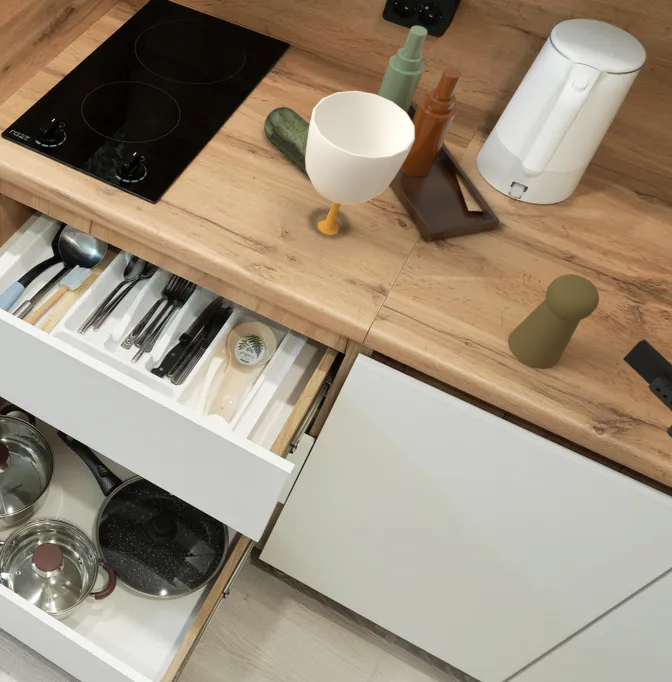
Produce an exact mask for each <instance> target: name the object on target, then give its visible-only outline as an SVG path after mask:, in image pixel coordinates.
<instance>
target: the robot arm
mask: <svg viewBox="0 0 672 682" xmlns="http://www.w3.org/2000/svg"><path fill="white" fill-rule="evenodd" d="M622 360H623V361H624V362H625V363H626V364H627V365H628V366H629V367H630V368H631V369H633V371H634V372H636V373H637V375H639V376H640V377H641V378H642V379H643V380H644V381H645V382H646V383H647V384H648V386H647V387H648V389H649V391H650V392H651V393H652V394H653V395H654V396H655V397H656V398H657V399H658V400H659V401H660V402H661V403H662V404H663V405H665V407H667V408H668V410H670V412H672V363H671V362H670V361H668V359H666V358H665V357H664V356H663V355H662V354H661V352H659V351H658V350H657V349H656V348H654V347H653V346H652V344H650V343H649V342H648V341H647V340H646V339H645V338H643V339H642V340H640V341H638V342H637V343H636V344H635V345H634V346H633V348H631V350H629V352H628V353H627V354H626V355H625V356H624V357H623V358H622ZM666 433H667V435H668V436H669V437H670V438H672V424H671V425H670V426H669V427H668V428H667V429H666Z"/></svg>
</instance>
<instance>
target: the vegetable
mask: <svg viewBox="0 0 672 682" xmlns="http://www.w3.org/2000/svg"><path fill="white" fill-rule="evenodd" d="M263 125H264V126H263V128H264V129H263V131H264V134H265V136H266V138H267V139H268V140H269V142H270V143H272V144H273V145H274V146H275V147H276V148H277V149H278V150H280V151H281V152H282V153H283V154H285V155H286V156H287V157H288V158H289V159H290V160H291V161H292V162H293V163H294V164H296V165H297V166H298V167H299V168H300V169H301V170H302V171H303V172H304V173H305V174H306V175H307V176H308V173H307V171H306V163H305V156H306V147H307V139H308V131H309V125H310V122H308V121H307V120H305V119H304V118H303V117H302V116H301V115H300V114H299V113H297V112H296V111H295V110H294V109H292V108H290V107H287V106H279V107H276V108H274V109H273V110H271V111H270V112H269V113H268V115H267V116H266V118H265V120H264V123H263Z"/></svg>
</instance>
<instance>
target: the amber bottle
mask: <svg viewBox="0 0 672 682" xmlns="http://www.w3.org/2000/svg"><path fill="white" fill-rule="evenodd" d="M461 77H462V71H461V70H459V69H458V68H456V67H453V66H448V67H447V66H446V67H445V68H444V69H443V71H442V74H441V75H440V79H439V81H438V82H437V83H438V84H437V86H436V87H434V88H432V89H431V90H430V91H429V93H428V94H426V95H423V96H422V97H421V99H420V100H419V102H418V105H417V106H416V107H417V110H416V112H415V115H414V117H413V120H412V123H413V124H414V126H415V141H414V143H413V145H412V147H411V149H410V151H409V153H408V155H407V157H406V159H405V161H404V162H403V164H402V166H401V168H400V170H401V171H402V172H403V173H405V174H407V175H409V176H413V177H423V176H426V175H427V174H429V172H430V171H431V168H432V166H433V164H434V162H435V160H436V157H437V155H438V153H439V151H440V148H441V146H442V144H444V142H445V139H446V137H447V135H448V133H449V130H450V129H451V126H452V124H453V121H454V120H455V117H456V115H457V112H458V106H457V104H456V101H457V97H456V94H455V92H456V89H457V87H458V84H459V83H460V80H461Z"/></svg>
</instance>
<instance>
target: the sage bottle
mask: <svg viewBox="0 0 672 682" xmlns="http://www.w3.org/2000/svg"><path fill="white" fill-rule="evenodd" d="M427 36H428V29H426V27H424V26H421V25H413V26H411V27H410V30H409V32H408V35H407V38H406V41H405V44H404V46H402V47H400V48H398V50H397V52H396V53H395V54H393V55H391V56H390V57H389V60H388V62H387V65H386V68H385V71H384V74H383V76H382V78H381V79H382V80H381V83H380V85H379V88H378V91H377V94H376V95H378V96H380V97H383V98H385V99H387V100H390V101H392V102H394V103H395V104H396V105H397V106H399V107H400V108H401V109H402V110H404V111H405V112H406V113H408V110H409V107H410V105H411V102H412V101H413V99H414V97H415V95H416V92H417V90H418V86H419V85H420V81H421V79H422V78H423V77H422V76H423V73H424V72H425V68H426V67H425V64H424V62H423V59H424V54H423V52H422V49H423V47H424V43H425V41H426V38H427Z"/></svg>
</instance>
